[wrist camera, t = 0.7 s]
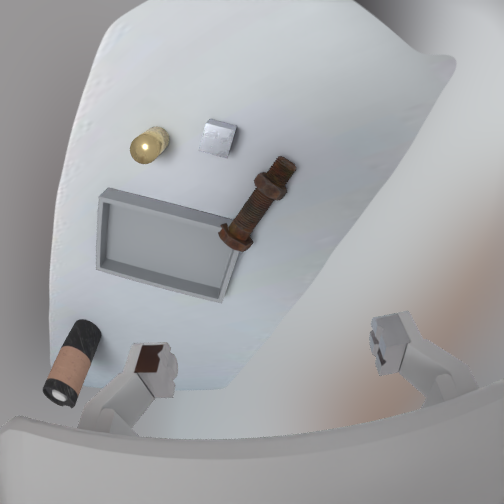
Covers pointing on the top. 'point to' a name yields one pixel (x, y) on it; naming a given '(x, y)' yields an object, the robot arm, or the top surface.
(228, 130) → the steel block
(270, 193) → the bolt
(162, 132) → the brass cylinder
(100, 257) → the parts tray
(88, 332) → the travel mug
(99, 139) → the top surface
